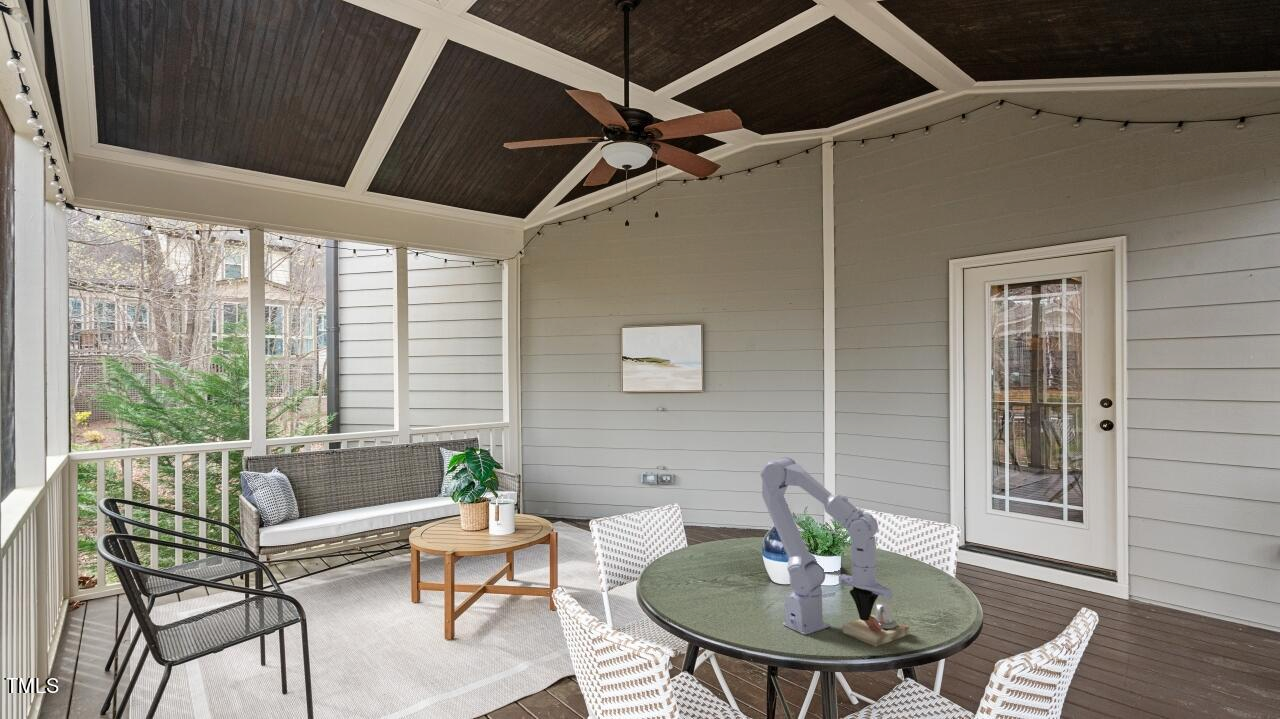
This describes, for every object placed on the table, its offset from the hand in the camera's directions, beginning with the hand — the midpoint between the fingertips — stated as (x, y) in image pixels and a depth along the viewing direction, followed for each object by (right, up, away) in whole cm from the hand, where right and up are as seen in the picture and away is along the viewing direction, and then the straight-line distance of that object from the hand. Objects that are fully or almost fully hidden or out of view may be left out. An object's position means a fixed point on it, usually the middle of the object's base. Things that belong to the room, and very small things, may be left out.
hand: (865, 619), depth 157 cm
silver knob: (+6, -5, +4) cm, 9 cm away
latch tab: (+2, -1, +1) cm, 2 cm away
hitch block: (+4, -5, +4) cm, 7 cm away
